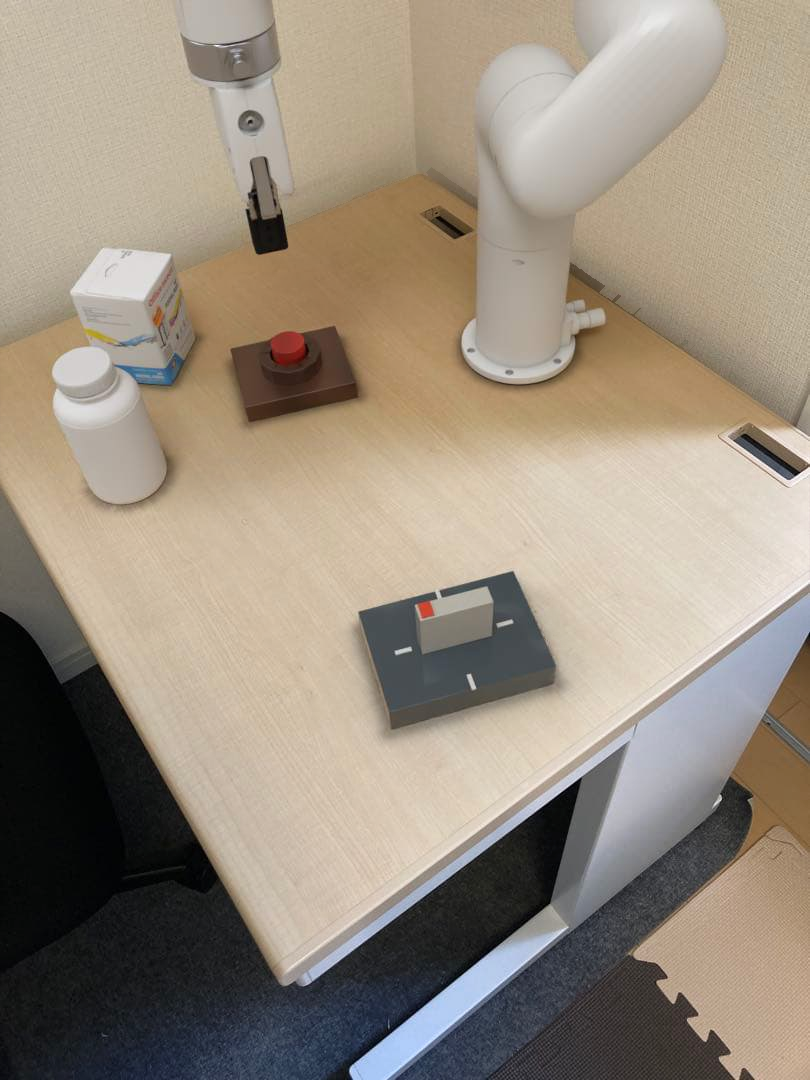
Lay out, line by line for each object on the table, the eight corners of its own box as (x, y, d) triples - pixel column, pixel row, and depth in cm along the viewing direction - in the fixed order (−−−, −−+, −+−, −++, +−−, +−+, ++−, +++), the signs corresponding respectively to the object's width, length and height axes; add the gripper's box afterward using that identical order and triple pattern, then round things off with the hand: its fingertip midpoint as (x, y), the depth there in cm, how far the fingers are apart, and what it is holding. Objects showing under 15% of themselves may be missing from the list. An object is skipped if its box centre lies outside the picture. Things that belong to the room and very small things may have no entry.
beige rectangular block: (485, 620, 76) (487, 584, 72) (491, 636, 75) (493, 600, 71) (416, 638, 75) (414, 603, 71) (422, 654, 74) (420, 619, 70)
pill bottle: (99, 518, 89) (44, 405, 77) (83, 464, 94) (29, 350, 82) (177, 491, 91) (135, 377, 79) (158, 439, 96) (116, 325, 84)
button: (302, 340, 99) (300, 328, 98) (309, 361, 97) (307, 348, 95) (270, 348, 98) (267, 335, 97) (276, 369, 96) (273, 356, 95)
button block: (336, 340, 104) (333, 312, 101) (358, 397, 98) (354, 369, 95) (233, 363, 103) (226, 335, 100) (248, 422, 97) (241, 394, 93)
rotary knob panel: (511, 589, 82) (513, 568, 79) (553, 685, 75) (557, 665, 73) (360, 629, 80) (357, 609, 77) (391, 731, 74) (389, 712, 71)
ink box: (172, 387, 101) (143, 300, 91) (101, 380, 102) (65, 293, 93) (198, 337, 106) (173, 250, 97) (130, 331, 107) (99, 244, 98)
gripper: (296, 80, 69) (326, 284, 83) (261, 4, 78) (293, 199, 92) (198, 99, 68) (245, 301, 82) (174, 19, 77) (220, 214, 91)
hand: (271, 247), depth 87 cm, fingers closed
